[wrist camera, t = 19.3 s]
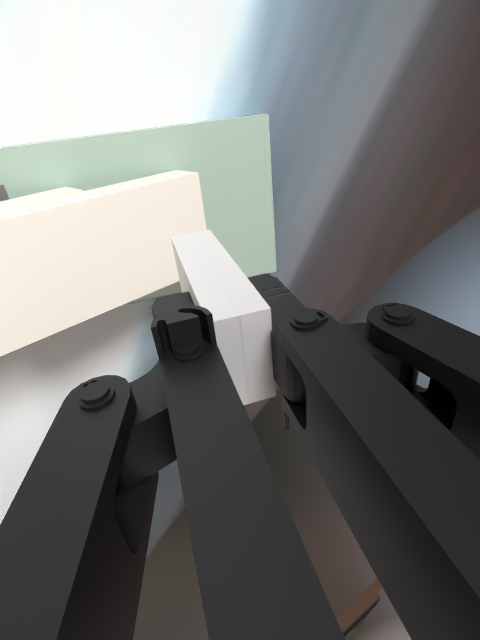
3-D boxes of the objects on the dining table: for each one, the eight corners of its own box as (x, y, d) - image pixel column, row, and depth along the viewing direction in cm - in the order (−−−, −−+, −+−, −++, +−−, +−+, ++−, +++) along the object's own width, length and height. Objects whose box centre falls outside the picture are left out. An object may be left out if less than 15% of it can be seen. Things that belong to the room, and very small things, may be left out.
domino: (198, 172, 18) (-70, 238, 12) (212, 266, 21) (-3, 358, 15) (176, 169, 19) (-75, 227, 14) (191, 258, 22) (-13, 339, 16)
